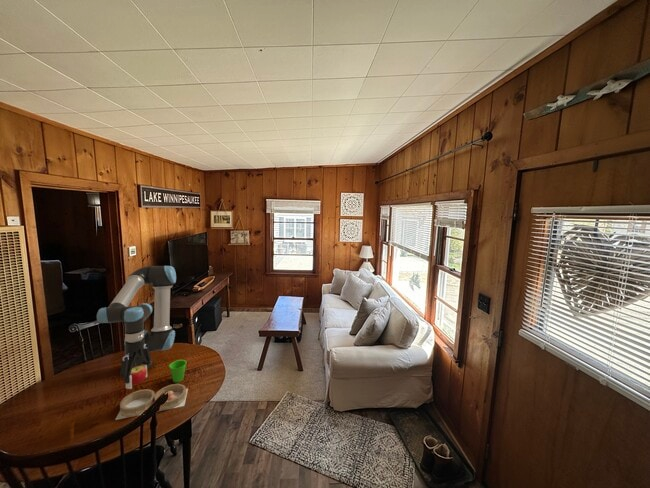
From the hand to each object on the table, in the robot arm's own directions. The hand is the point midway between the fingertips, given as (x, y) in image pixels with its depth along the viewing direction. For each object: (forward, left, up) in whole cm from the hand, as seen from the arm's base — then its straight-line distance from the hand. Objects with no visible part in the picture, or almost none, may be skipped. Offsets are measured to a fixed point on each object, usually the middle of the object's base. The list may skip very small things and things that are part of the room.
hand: (136, 382), depth 129 cm
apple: (0, 0, -1) cm, 1 cm away
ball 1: (+3, +13, -13) cm, 19 cm away
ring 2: (+5, +14, -13) cm, 19 cm away
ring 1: (0, 0, -13) cm, 13 cm away
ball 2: (+8, +13, -13) cm, 20 cm away
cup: (-10, +21, -14) cm, 27 cm away
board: (+3, +7, -14) cm, 16 cm away
